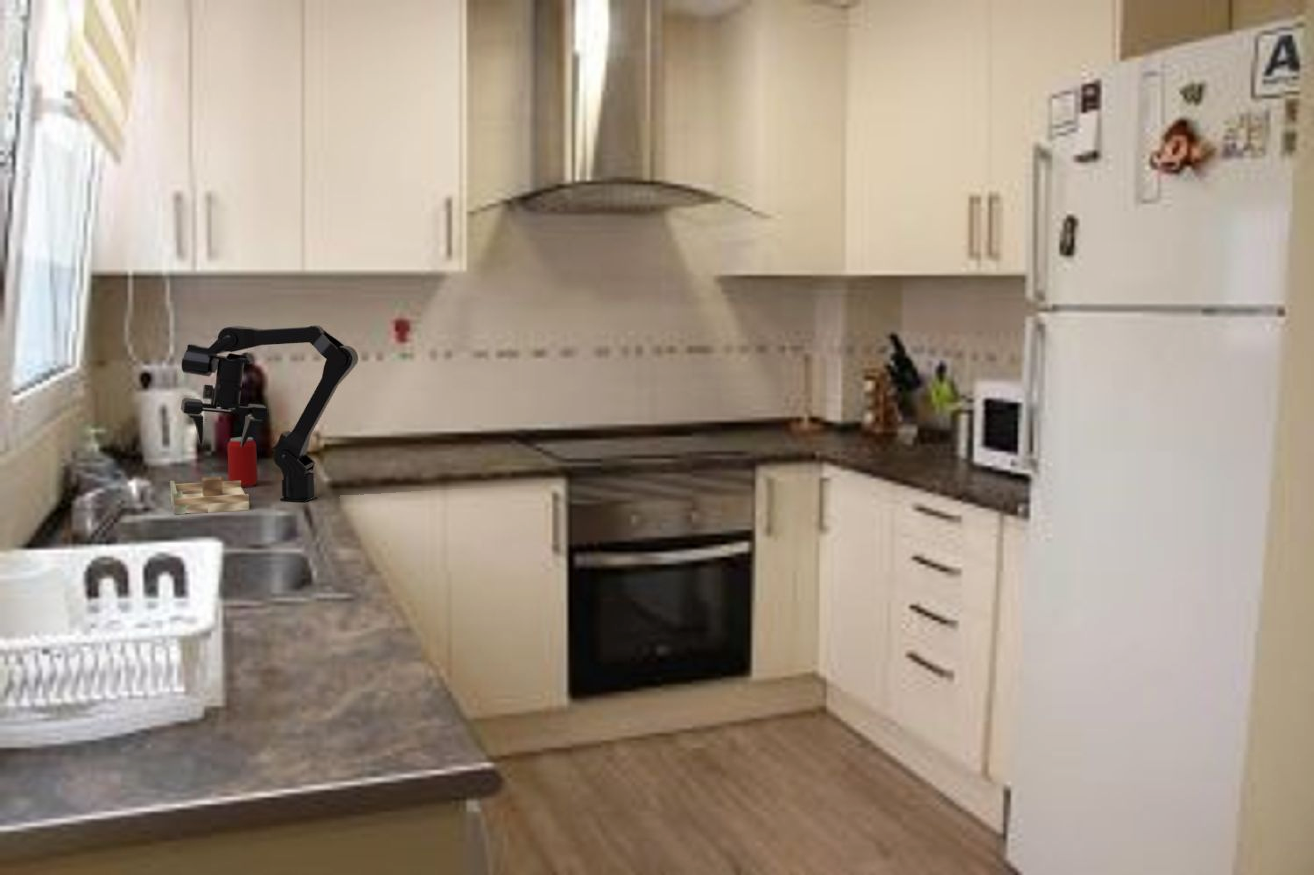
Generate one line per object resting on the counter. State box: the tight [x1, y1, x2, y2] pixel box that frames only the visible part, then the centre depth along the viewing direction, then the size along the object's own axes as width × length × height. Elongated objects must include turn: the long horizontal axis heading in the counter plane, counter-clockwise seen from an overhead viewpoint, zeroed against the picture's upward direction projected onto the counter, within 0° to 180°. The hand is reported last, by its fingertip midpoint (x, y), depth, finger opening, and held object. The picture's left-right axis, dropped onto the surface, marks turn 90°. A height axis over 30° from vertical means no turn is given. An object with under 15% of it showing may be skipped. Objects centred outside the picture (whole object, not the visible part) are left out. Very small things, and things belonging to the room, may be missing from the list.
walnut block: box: [201, 476, 223, 497], centre depth 258 cm, size 4×4×4 cm
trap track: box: [169, 480, 250, 515], centre depth 258 cm, size 16×19×4 cm
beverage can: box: [227, 436, 258, 488], centre depth 281 cm, size 7×7×12 cm
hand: (221, 445), depth 263 cm, fingers open, 9 cm apart
